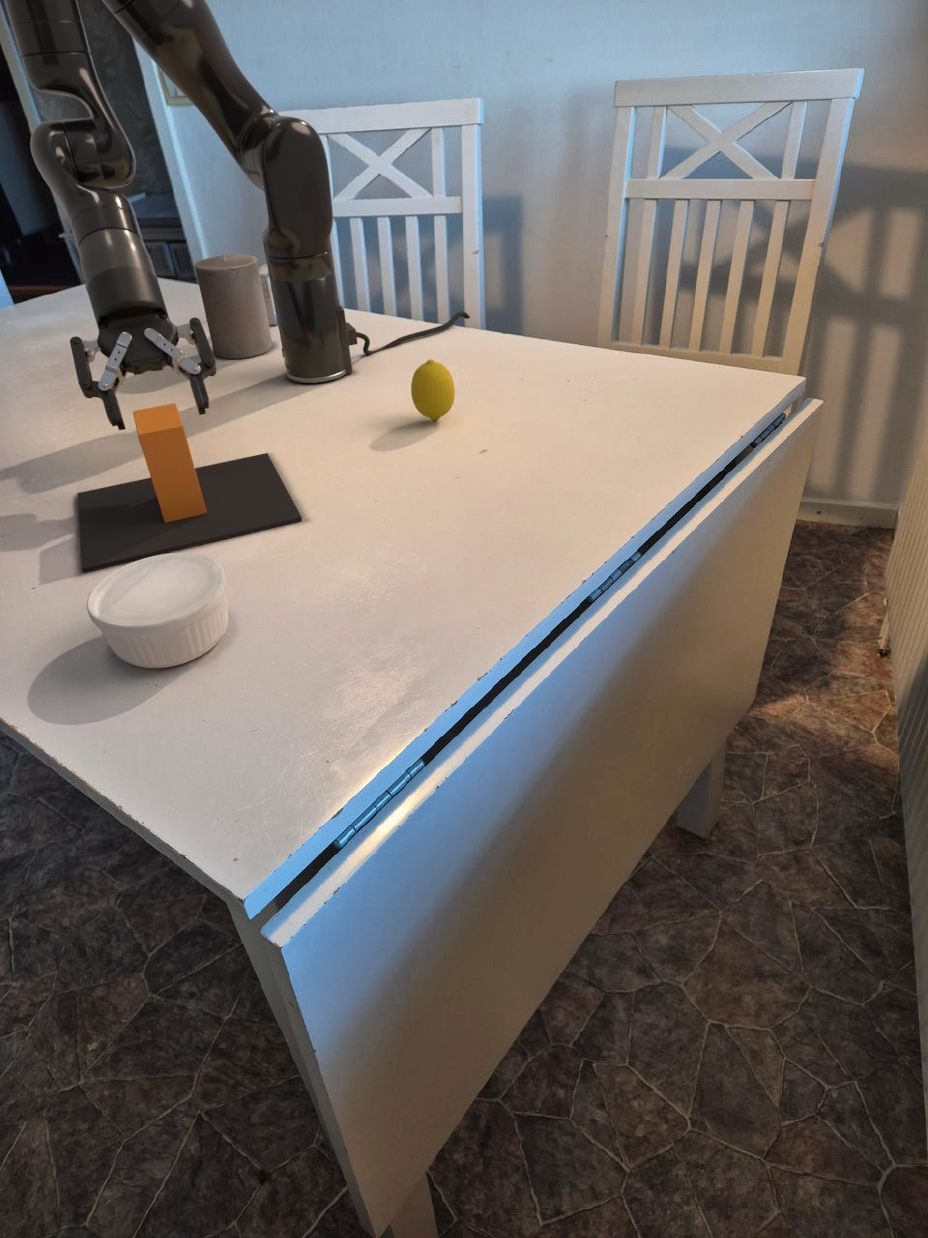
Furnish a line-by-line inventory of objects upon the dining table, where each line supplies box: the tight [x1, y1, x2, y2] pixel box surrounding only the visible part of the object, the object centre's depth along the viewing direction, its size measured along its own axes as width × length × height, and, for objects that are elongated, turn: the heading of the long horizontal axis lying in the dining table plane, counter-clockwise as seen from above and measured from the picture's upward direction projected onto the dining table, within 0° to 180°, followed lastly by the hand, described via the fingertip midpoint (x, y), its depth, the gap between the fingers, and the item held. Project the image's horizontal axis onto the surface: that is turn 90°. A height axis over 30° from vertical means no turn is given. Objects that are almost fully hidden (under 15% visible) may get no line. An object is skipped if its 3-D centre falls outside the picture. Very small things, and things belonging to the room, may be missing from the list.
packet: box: [132, 402, 207, 523], centre depth 86 cm, size 4×7×10 cm, turn 22°
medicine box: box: [258, 263, 278, 326], centre depth 145 cm, size 8×4×9 cm, turn 168°
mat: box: [76, 452, 303, 573], centre depth 89 cm, size 22×18×1 cm
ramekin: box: [86, 552, 229, 669], centre depth 68 cm, size 11×11×5 cm
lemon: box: [410, 359, 456, 422], centre depth 103 cm, size 6×6×8 cm
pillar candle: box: [194, 251, 273, 360], centre depth 129 cm, size 10×10×15 cm
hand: (162, 419), depth 88 cm, fingers open, 8 cm apart
